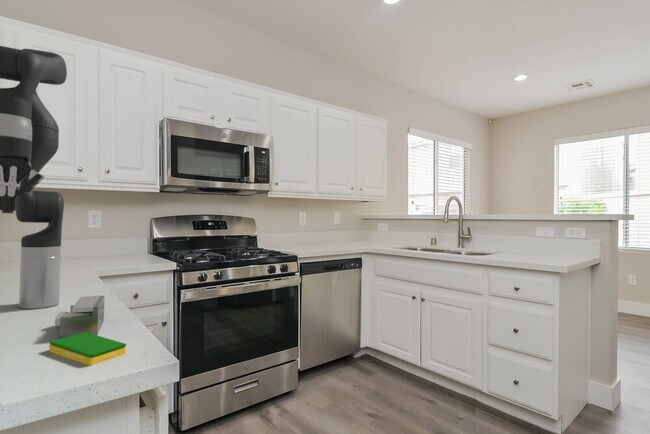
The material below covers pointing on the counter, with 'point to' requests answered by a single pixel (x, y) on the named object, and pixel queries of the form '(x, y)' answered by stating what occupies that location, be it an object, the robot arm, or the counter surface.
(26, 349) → the counter surface
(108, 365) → the counter surface
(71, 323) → the bracket
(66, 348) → the dish sponge
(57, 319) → the pipe fitting
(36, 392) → the counter surface
